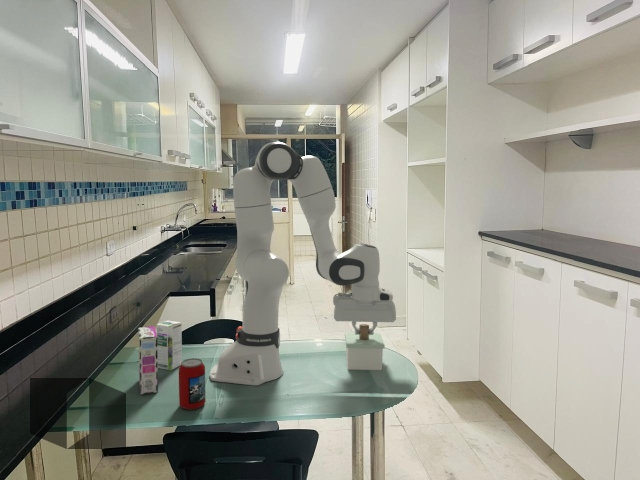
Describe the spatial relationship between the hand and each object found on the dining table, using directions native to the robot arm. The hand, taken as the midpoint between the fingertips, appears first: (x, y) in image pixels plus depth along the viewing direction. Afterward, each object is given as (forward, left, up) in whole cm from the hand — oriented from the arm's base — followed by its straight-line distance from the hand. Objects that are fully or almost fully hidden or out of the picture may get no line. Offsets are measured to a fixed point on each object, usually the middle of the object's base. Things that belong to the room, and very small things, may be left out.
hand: (364, 334), depth 150 cm
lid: (0, 0, -4) cm, 4 cm away
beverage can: (-48, -30, -11) cm, 58 cm away
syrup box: (-63, -4, -11) cm, 64 cm away
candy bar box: (-64, -19, -11) cm, 68 cm away
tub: (0, 0, -11) cm, 11 cm away
